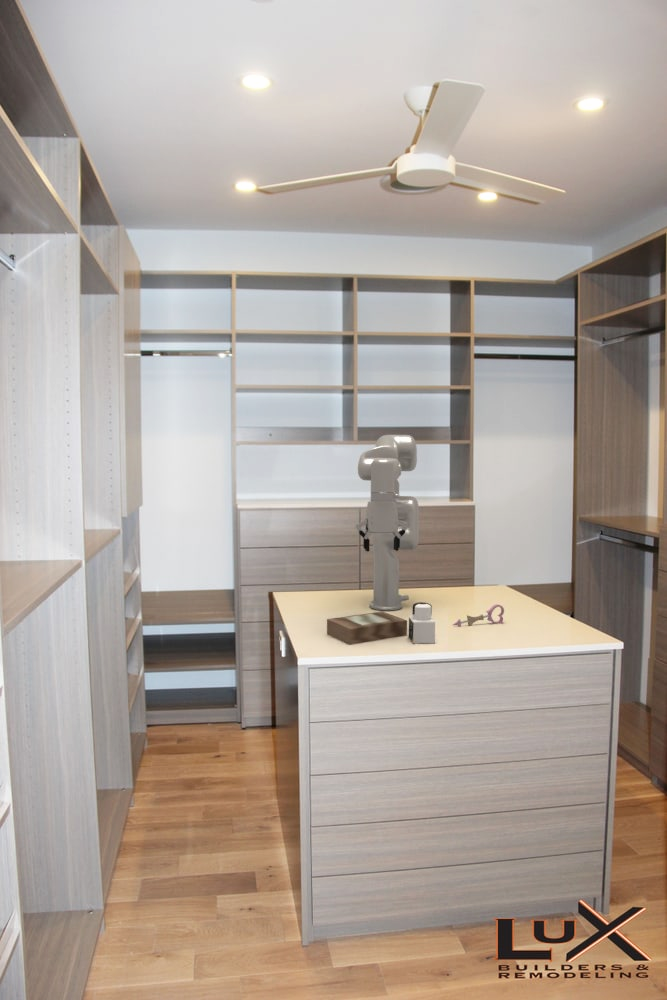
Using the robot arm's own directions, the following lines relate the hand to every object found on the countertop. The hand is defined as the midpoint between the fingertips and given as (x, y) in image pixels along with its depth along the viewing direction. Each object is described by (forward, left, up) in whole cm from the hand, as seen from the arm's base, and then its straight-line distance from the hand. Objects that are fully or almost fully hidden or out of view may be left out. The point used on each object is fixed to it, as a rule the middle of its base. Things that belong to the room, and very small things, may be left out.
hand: (381, 550), depth 239 cm
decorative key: (-37, +5, -28) cm, 47 cm away
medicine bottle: (-8, +11, -28) cm, 31 cm away
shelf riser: (+3, -3, -28) cm, 28 cm away
